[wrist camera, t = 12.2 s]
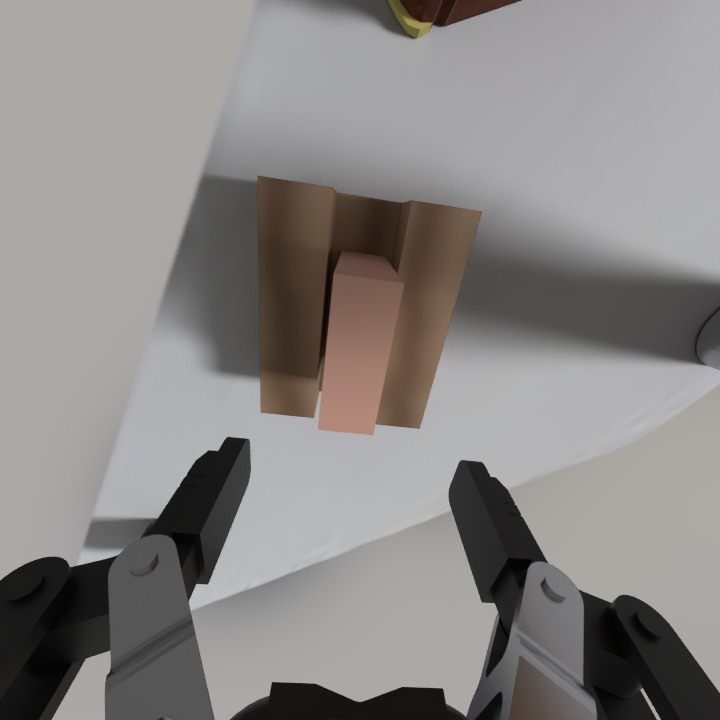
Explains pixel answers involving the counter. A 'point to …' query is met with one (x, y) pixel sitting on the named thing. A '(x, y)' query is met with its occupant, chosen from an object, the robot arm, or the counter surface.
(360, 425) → the pink rectangular block
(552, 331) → the counter surface
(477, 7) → the decorative book
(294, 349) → the book stand
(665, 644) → the robot arm
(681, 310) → the counter surface
